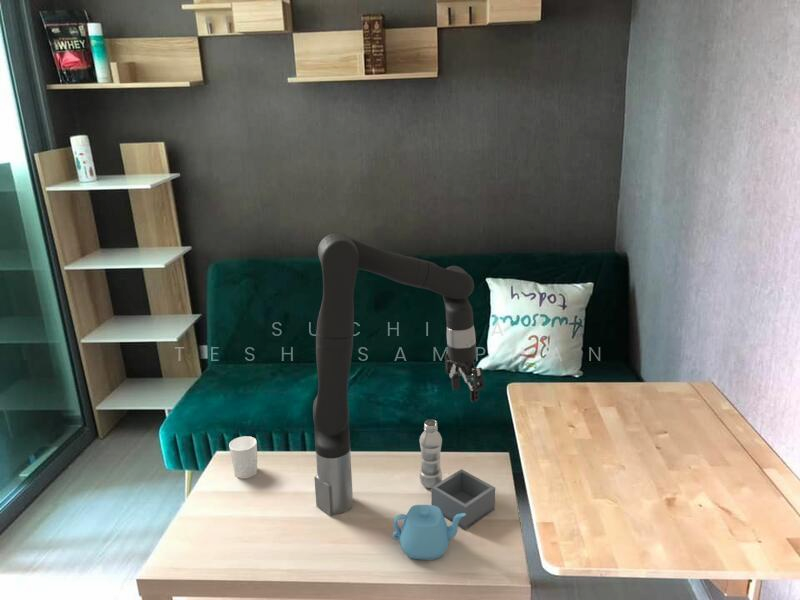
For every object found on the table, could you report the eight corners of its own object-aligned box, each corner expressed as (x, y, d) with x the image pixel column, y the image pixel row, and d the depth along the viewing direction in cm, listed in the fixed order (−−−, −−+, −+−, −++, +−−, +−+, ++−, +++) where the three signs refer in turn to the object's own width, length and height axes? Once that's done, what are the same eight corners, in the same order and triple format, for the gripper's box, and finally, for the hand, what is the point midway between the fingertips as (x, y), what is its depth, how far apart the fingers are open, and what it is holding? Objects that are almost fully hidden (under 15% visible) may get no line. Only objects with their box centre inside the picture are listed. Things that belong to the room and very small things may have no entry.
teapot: (466, 528, 147) (389, 525, 149) (465, 566, 151) (390, 562, 152) (465, 495, 159) (394, 492, 161) (465, 531, 162) (395, 527, 164)
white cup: (238, 464, 193) (235, 435, 190) (263, 465, 192) (260, 436, 189) (228, 479, 186) (224, 449, 183) (254, 481, 185) (250, 451, 182)
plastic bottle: (444, 479, 184) (445, 418, 177) (438, 493, 178) (438, 430, 171) (423, 475, 186) (423, 415, 179) (416, 489, 180) (416, 427, 173)
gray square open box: (465, 530, 163) (465, 507, 160) (431, 509, 171) (431, 487, 169) (494, 509, 170) (495, 487, 168) (461, 490, 179) (461, 469, 176)
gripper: (434, 337, 171) (439, 390, 176) (465, 354, 159) (470, 410, 165) (457, 329, 174) (461, 381, 180) (489, 345, 162) (492, 400, 168)
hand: (465, 395), depth 172 cm, fingers open, 8 cm apart
